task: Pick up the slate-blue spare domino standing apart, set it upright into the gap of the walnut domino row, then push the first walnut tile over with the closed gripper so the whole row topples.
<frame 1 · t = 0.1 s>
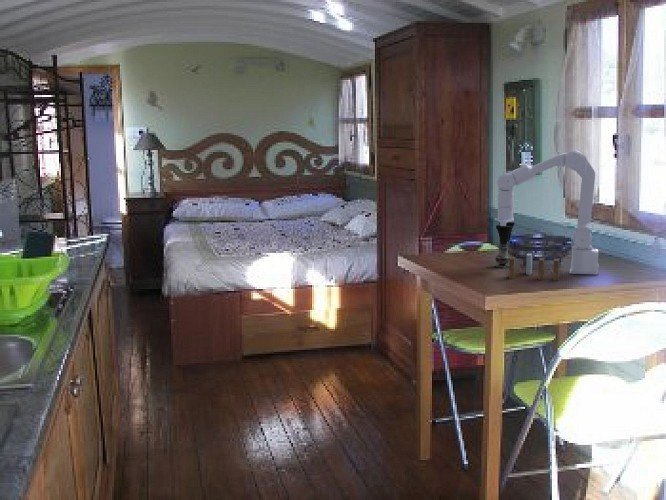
hand: (505, 243, 286), 10 cm above the table, tool pointing down, fingers open, 7 cm apart
salt shaker: (502, 267, 293), on the table, touching gripper
spare domino: (528, 273, 280), on the table
domino a: (556, 279, 268), on the table
domino d: (512, 277, 273), on the table
domino b: (541, 278, 270), on the table
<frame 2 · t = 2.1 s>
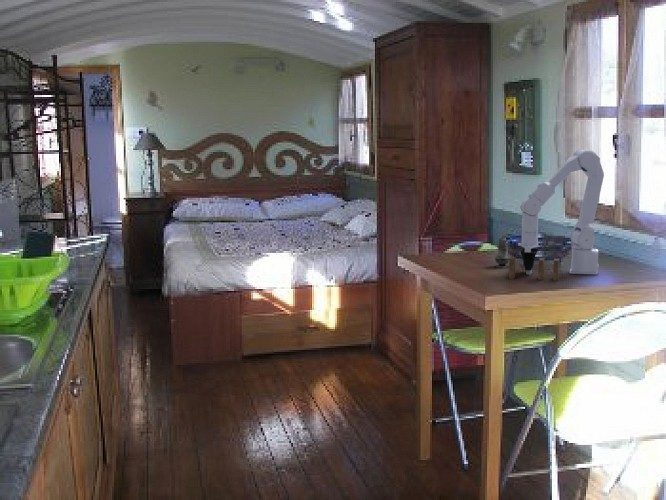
hand: (529, 268, 279), 2 cm above the table, tool pointing down, fingers closed on spare domino, 4 cm apart
salt shaker: (502, 267, 293), on the table
spare domino: (528, 273, 280), on the table, touching gripper
everything else where it was.
when the fingers open (3 cm above the table, at t = 5.1 s): spare domino stays where it is, on the table.
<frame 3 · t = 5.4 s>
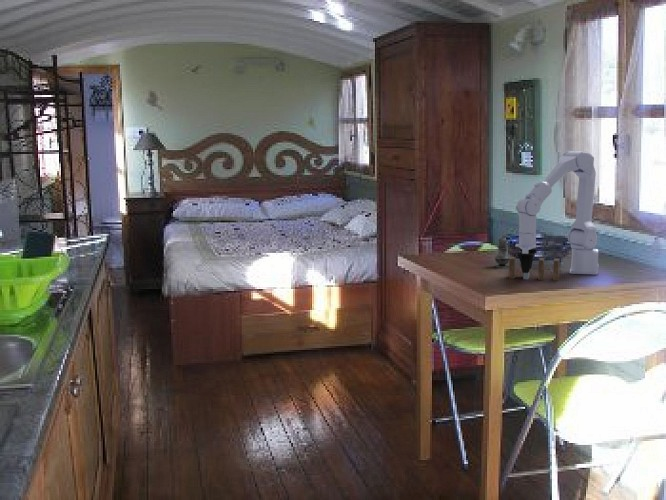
hand: (526, 270, 271), 3 cm above the table, tool pointing down, fingers open, 7 cm apart
spare domino: (526, 278, 271), on the table
everything else where it was.
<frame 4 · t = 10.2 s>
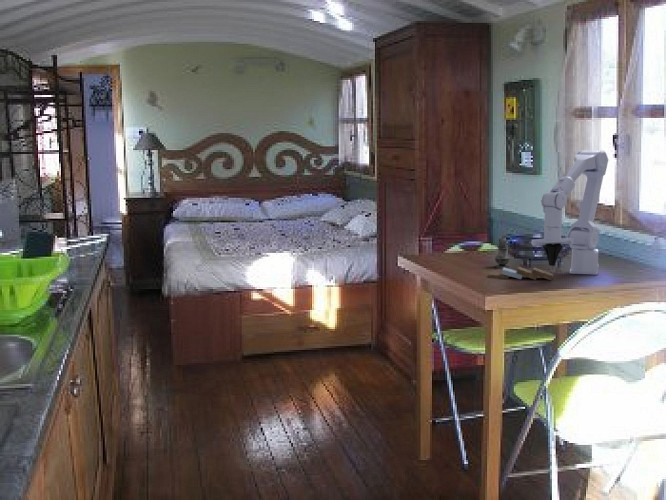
hand: (551, 265, 268), 5 cm above the table, tool pointing down, fingers closed
spare domino: (522, 276, 272), point 1 cm above the table, tilted 76°, touching domino d
domino a: (552, 277, 268), point 1 cm above the table, tilted 72°, touching domino b
domino d: (509, 276, 273), on the table, tilted 90°, touching spare domino
domino b: (536, 276, 270), point 1 cm above the table, tilted 71°, touching domino a
everything else where it was.
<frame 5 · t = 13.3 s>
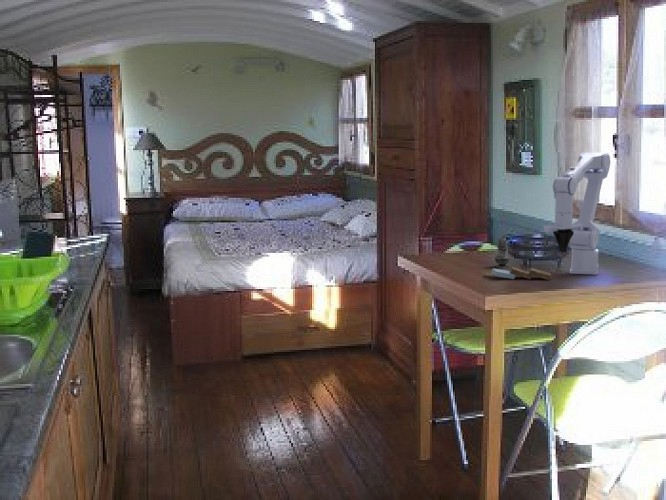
hand: (562, 251, 266), 10 cm above the table, tool pointing down, fingers closed
spare domino: (512, 275, 272), point 1 cm above the table, tilted 78°, touching domino b, domino d
domino d: (504, 277, 273), on the table, tilted 90°, touching spare domino
domino b: (530, 276, 271), point 1 cm above the table, tilted 72°, touching domino a, spare domino
at the end: domino d tilted 90°; spare domino tilted 78°; the gripper is holding nothing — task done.
